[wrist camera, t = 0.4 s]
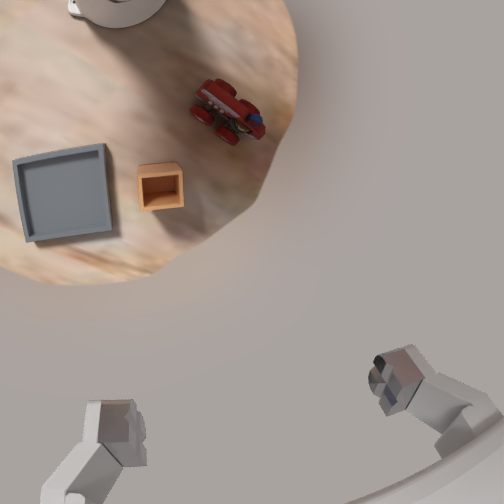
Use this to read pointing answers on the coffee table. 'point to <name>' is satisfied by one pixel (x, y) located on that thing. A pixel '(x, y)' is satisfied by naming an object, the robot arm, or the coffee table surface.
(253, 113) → the toy fire truck
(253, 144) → the coffee table surface
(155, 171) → the box
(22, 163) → the tray
